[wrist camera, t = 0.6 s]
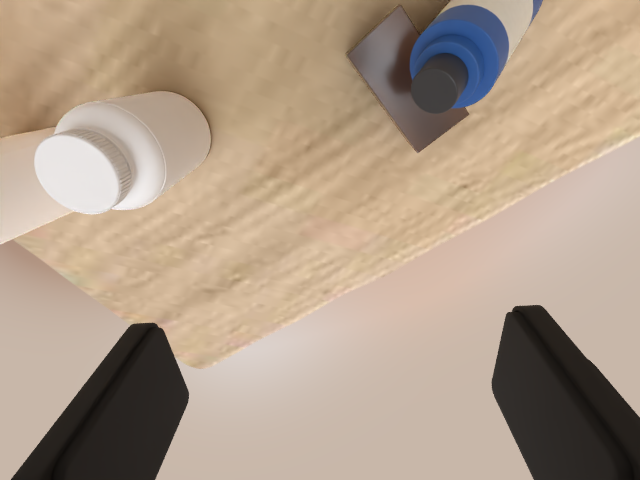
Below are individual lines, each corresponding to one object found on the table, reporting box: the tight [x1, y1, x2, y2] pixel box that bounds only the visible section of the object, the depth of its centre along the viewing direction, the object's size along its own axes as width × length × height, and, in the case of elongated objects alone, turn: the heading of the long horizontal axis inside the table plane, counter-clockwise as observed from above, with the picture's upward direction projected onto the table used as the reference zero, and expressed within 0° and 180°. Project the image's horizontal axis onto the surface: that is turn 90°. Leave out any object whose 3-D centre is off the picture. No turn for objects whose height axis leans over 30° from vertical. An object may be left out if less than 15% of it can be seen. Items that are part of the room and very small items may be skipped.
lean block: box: [345, 5, 469, 153], centre depth 29 cm, size 5×10×5 cm, turn 41°
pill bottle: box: [34, 91, 211, 214], centre depth 28 cm, size 8×8×15 cm
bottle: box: [410, 0, 543, 114], centre depth 24 cm, size 12×6×13 cm, turn 131°
